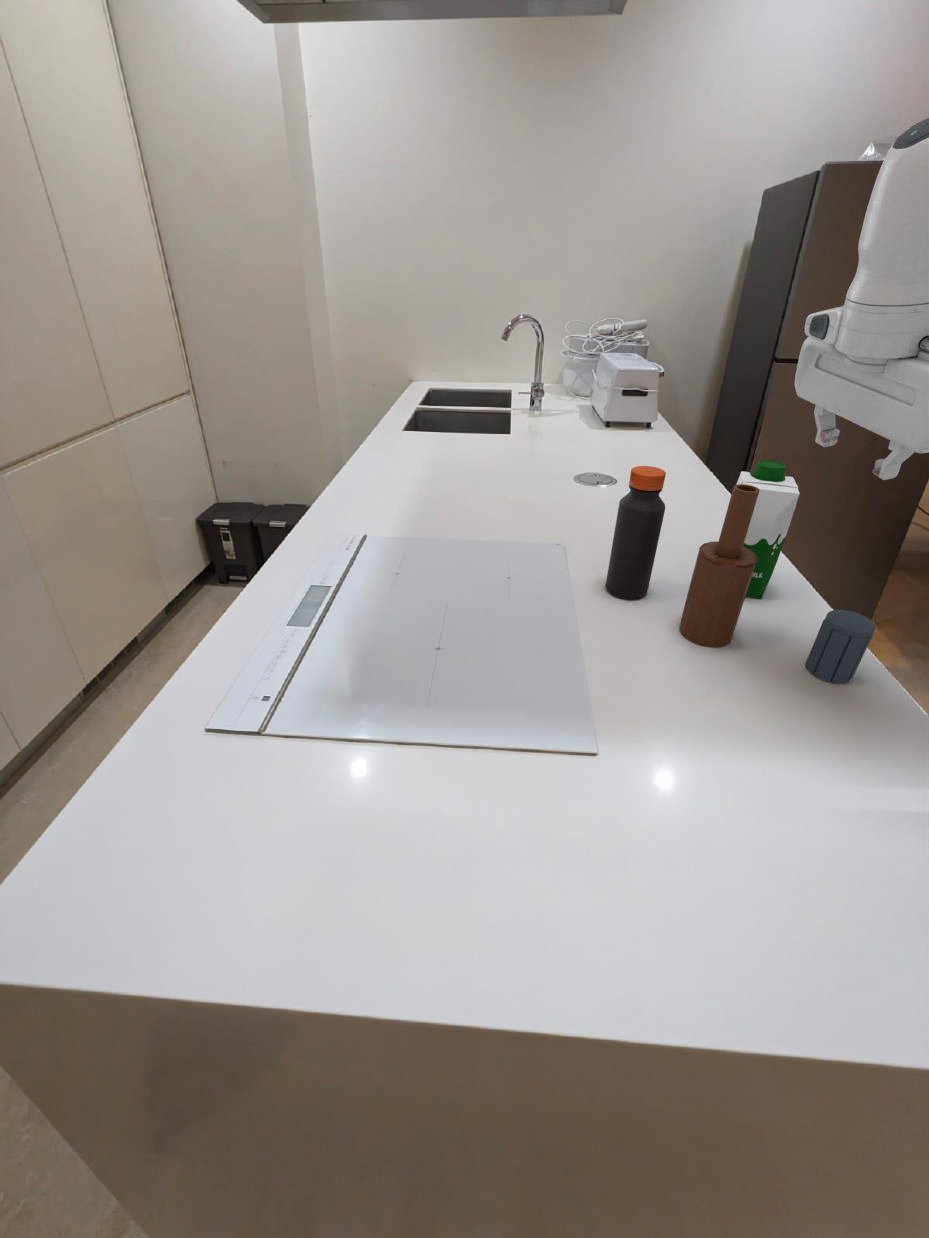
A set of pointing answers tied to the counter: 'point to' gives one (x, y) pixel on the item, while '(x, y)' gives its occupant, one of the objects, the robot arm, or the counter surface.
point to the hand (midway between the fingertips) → (853, 459)
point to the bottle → (721, 576)
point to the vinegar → (636, 534)
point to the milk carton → (768, 519)
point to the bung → (840, 646)
